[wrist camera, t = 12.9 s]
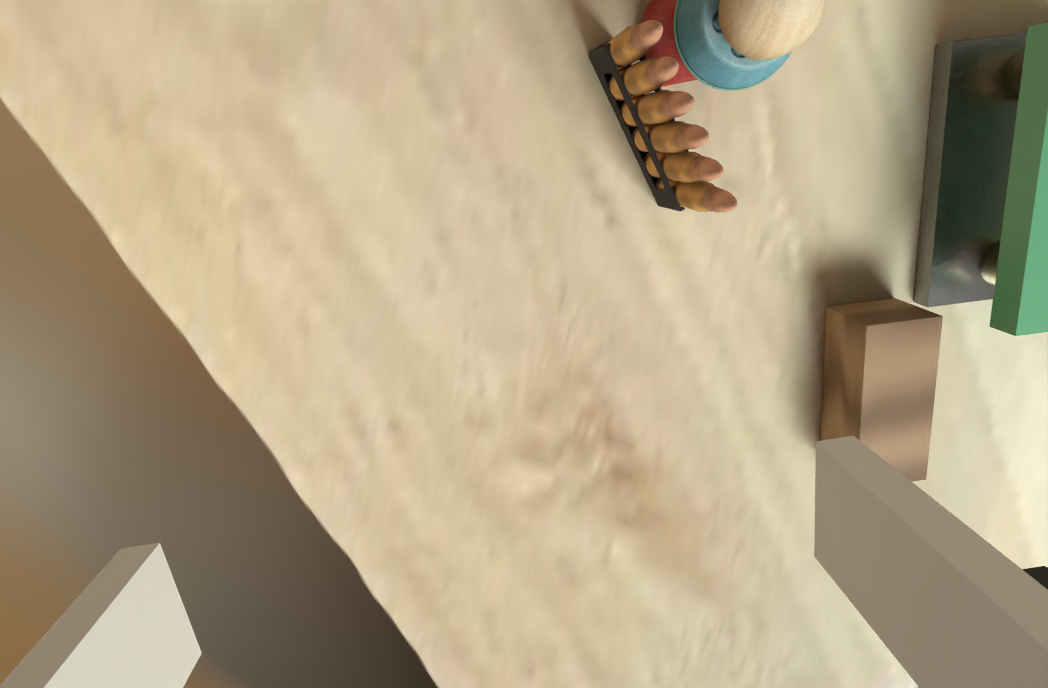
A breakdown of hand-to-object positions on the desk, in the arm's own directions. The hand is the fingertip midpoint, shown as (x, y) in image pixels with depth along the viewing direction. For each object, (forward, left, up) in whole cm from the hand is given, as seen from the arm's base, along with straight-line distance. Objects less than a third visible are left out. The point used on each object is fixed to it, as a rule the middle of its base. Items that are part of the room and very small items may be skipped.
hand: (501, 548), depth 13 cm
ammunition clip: (-8, +11, -31) cm, 34 cm away
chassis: (-2, +35, -31) cm, 47 cm away
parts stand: (+12, +26, -31) cm, 42 cm away
